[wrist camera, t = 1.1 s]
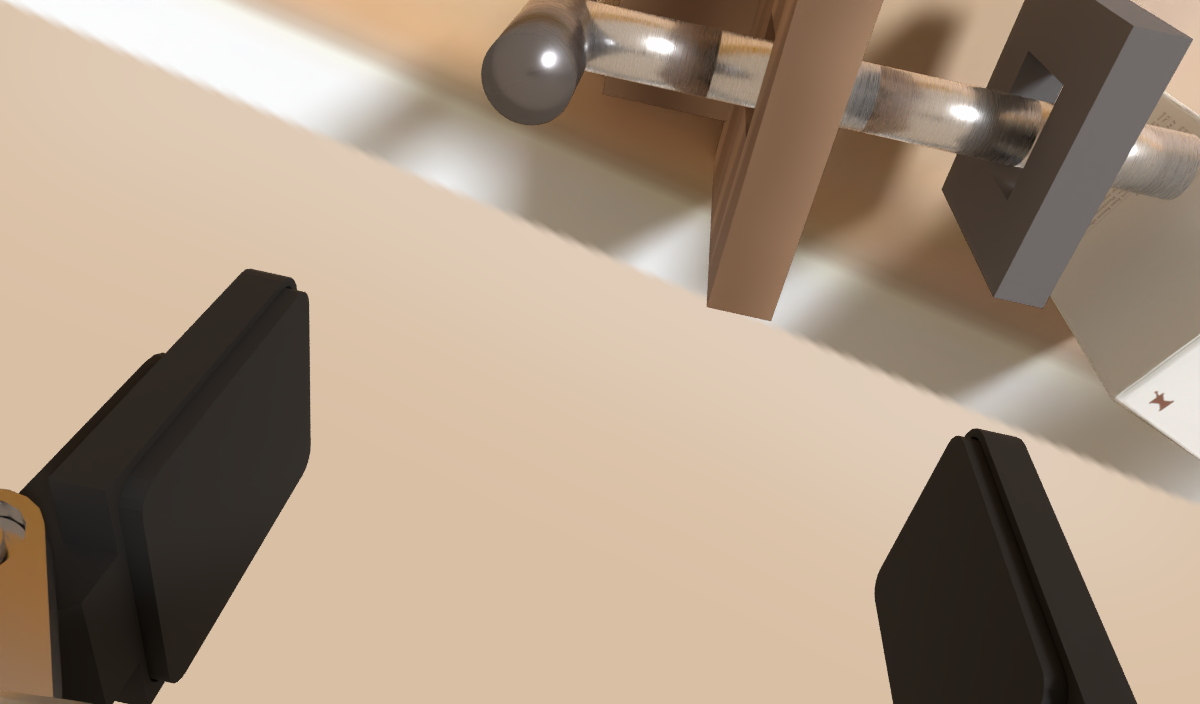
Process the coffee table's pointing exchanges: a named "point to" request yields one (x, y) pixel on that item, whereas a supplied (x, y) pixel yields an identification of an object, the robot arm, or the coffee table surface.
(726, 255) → the bracket
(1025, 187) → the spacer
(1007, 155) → the shaft
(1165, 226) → the supplement box
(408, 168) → the coffee table surface
